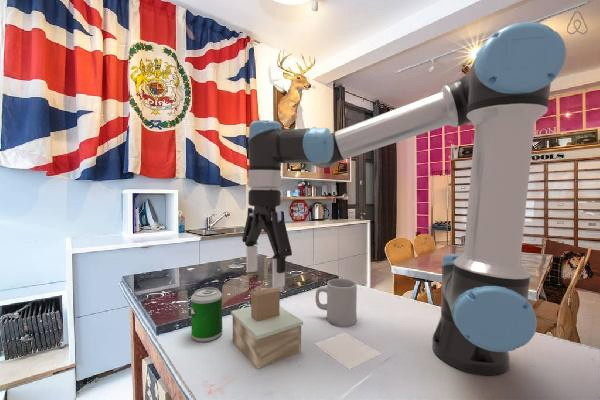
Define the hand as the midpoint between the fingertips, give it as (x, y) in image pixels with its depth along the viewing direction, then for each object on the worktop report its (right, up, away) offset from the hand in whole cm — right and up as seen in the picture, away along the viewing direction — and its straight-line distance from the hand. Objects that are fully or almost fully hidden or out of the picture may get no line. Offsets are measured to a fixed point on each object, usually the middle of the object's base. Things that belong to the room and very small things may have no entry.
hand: (264, 278), depth 69 cm
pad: (+19, -17, -1) cm, 26 cm away
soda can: (-15, -17, +6) cm, 23 cm away
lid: (0, -10, 0) cm, 10 cm away
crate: (0, -17, +1) cm, 17 cm away
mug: (+19, -16, +16) cm, 30 cm away
